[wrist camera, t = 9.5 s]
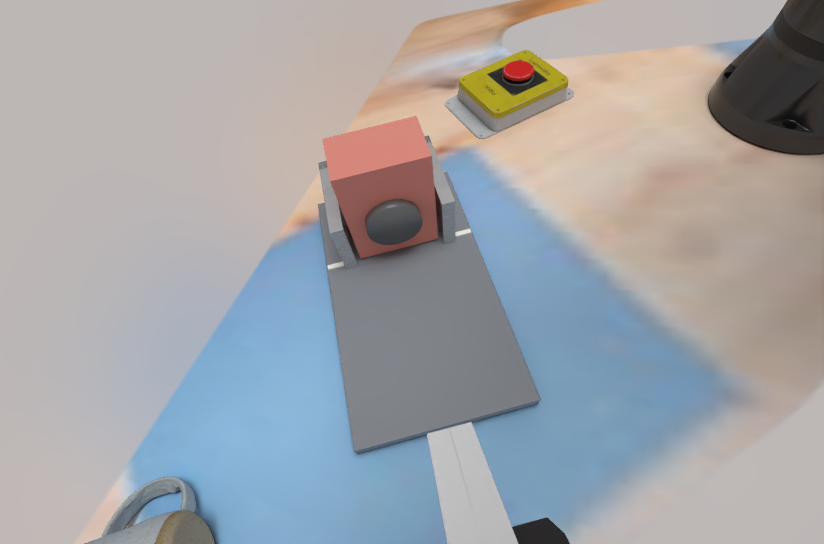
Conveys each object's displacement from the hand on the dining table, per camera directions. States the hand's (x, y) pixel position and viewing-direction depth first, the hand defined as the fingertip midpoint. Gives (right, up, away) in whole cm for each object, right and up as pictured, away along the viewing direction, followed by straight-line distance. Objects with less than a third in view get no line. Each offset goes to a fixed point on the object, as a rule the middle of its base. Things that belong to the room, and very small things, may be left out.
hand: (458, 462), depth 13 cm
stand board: (-2, +4, +25) cm, 26 cm away
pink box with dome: (-3, +10, +27) cm, 29 cm away
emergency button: (+11, +29, +39) cm, 50 cm away
